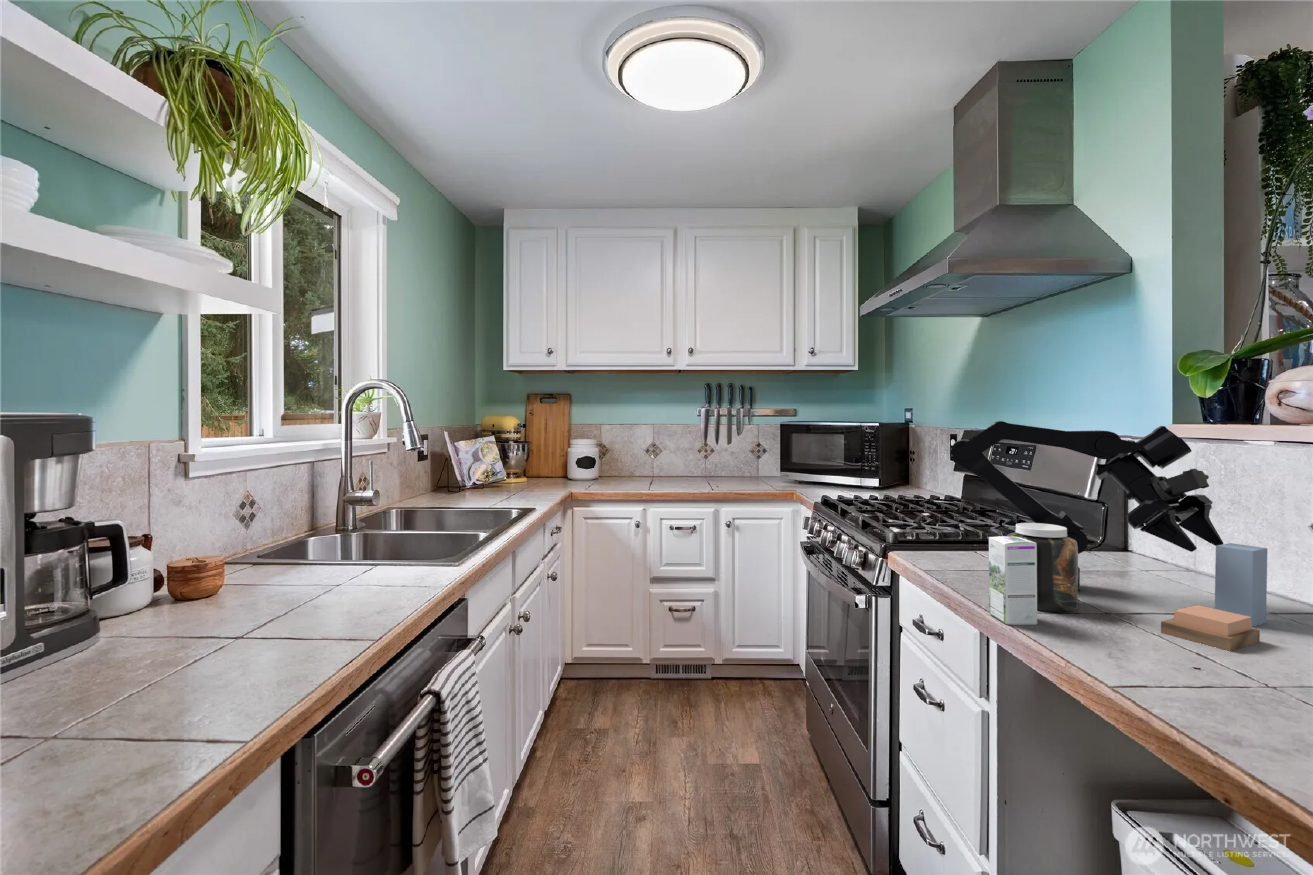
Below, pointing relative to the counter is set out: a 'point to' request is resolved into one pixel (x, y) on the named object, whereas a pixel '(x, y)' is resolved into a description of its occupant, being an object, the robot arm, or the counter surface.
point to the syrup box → (1013, 580)
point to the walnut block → (1210, 636)
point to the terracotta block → (1212, 620)
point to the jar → (1053, 565)
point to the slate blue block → (1241, 581)
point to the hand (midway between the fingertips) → (1207, 547)
